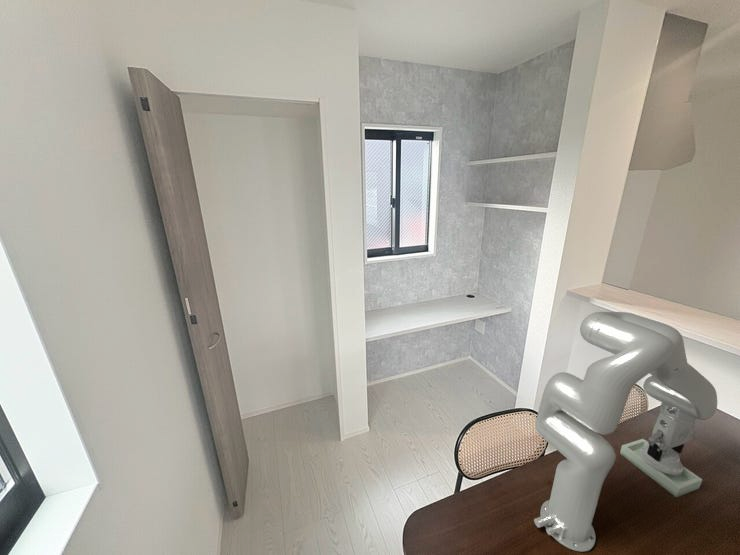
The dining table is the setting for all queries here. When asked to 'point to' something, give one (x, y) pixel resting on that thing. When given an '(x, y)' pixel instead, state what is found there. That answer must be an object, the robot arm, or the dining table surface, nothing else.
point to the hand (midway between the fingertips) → (663, 453)
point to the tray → (670, 482)
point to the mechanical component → (664, 460)
